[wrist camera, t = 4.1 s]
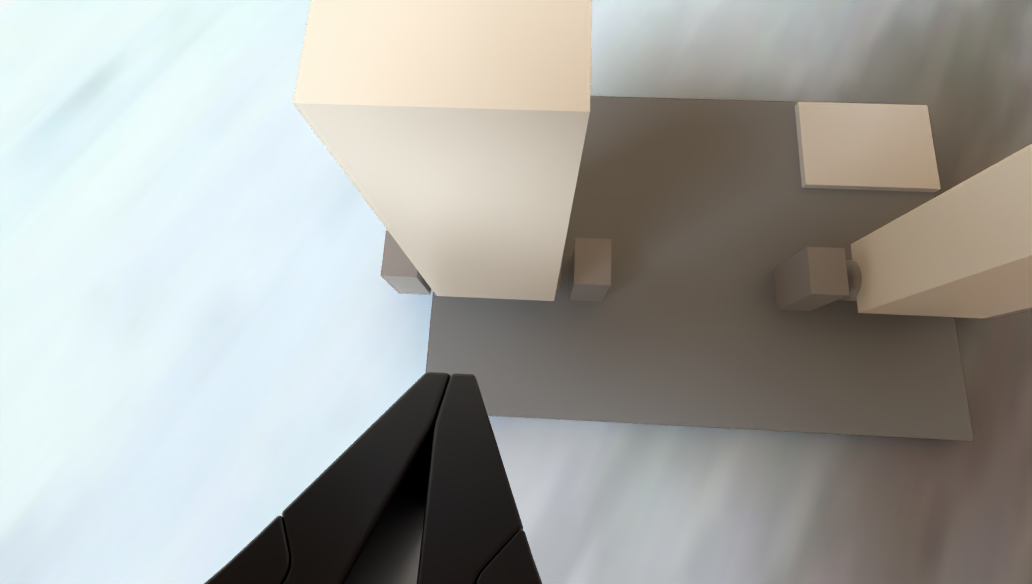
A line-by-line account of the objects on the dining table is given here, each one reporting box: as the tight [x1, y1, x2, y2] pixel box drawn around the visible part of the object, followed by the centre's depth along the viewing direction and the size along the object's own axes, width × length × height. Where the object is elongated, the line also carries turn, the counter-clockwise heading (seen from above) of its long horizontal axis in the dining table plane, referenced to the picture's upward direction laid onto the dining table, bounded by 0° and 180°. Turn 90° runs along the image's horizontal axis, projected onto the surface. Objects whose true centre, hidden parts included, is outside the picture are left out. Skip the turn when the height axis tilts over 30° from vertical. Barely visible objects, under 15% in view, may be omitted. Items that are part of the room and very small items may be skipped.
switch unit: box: [381, 96, 1032, 441], centre depth 19 cm, size 13×22×3 cm, turn 87°
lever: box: [293, 0, 592, 301], centre depth 13 cm, size 2×4×12 cm, turn 87°
